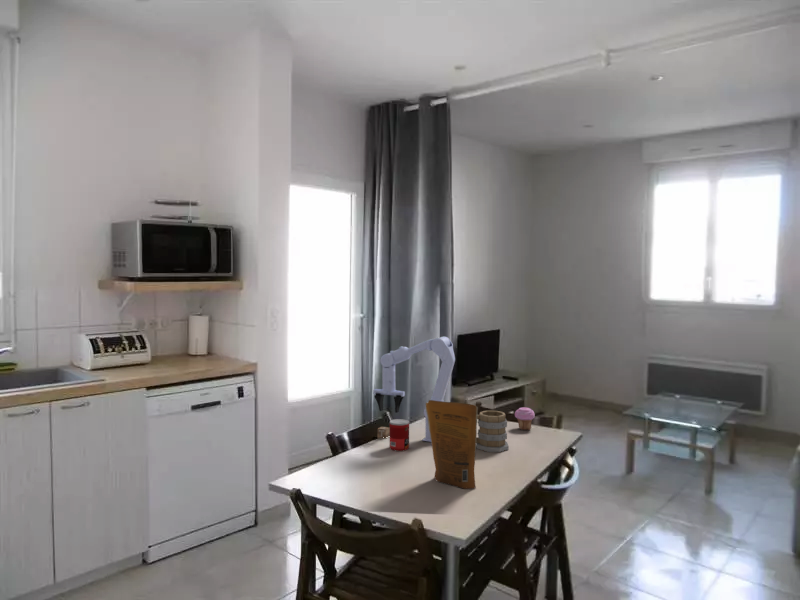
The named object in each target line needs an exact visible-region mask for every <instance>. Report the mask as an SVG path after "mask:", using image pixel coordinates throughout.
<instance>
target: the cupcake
mask: <svg viewBox="0 0 800 600" xmlns="http://www.w3.org/2000/svg"><path fill="white" fill-rule="evenodd" d="M535 414H536V413H535V412H534V410H533V409H532V408H530V407H524V406H523V407H519V408H518V409H516V410H515V412H514V418H516V419H517V423H518V427H519V430H524V431H525V430H526V431H529V430H532V421H533V420H534V419H535V417H536V416H535Z"/></svg>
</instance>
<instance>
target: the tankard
mask: <svg viewBox="0 0 800 600" xmlns="http://www.w3.org/2000/svg"><path fill="white" fill-rule="evenodd" d="M477 425H478V427H479V429H477V436H476V449H477V450H479V449H480V451H483V450H484V452H486V451H487V452H486V453H502V452H505V451H508V450H509V443H508V441H506V440H507V439H508V432H507V430H506V428H507V427H508V421H507V418H506V413H505V411H504V412H503V411H501V410H500V411H498V410H483V411H482V410H481V411H480V412H479V414H477ZM504 450H505V451H504ZM501 451H502V452H501Z"/></svg>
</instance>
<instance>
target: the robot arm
mask: <svg viewBox="0 0 800 600" xmlns="http://www.w3.org/2000/svg"><path fill="white" fill-rule="evenodd" d="M425 350H427V351H432V352H433V353H434V354H435V355H437V357H438V358H439V359H440V360H441V365H440V368H439V371H438V374H437V379H436V381H435V385H434V388H433V392H432V395H431V398H430V399H429V400H434V401H442V402H445V395H446V392H447V390H448V385H449V382H450V379H451V376H452V373H453V369H454V365H455V362H456V356H455V352H454V344H453V342H452V341H451V339H450V338H449V337H448V336H445V335H444V336H440V337H435V338H431V339H427V340H424V341H422V342H420V343H417V344H415V345H413V346H411V347H407V346H403V345H402V346H399V347H398V348H397V349H396V350H390V351H389V352H388V353H384V354H383V355H381V357H380V364H381V366H382V373H381V374H382V377H381V378H382V381H381V382H382V388H373V393H372V394H373V395H374V399H375V401H376V403H377V404H378V405H377V406H378V410H379V412H383V410H384V399H385V398H384V397H385V396H394V397H393V399H394V412H395V413H399V412H400V406H401V404H402V402H403V399H404V397H405V396H406V391H404V390H399V389H398V390H397V388H396V365H398V364H400V363H402V362H405V361H408V360H410V358H411V357H412V355H414V354H417V353H420V352H423V351H425ZM423 416H424V418H425V434H424V435H425V437H424V438H422V439H421V441H422V442H430V443H431V438H430V431H429V425H428V417H427V412H426V406H424V409H423Z"/></svg>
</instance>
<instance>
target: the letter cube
mask: <svg viewBox="0 0 800 600" xmlns="http://www.w3.org/2000/svg"><path fill="white" fill-rule="evenodd" d="M388 436H390V426H389V427H387V426H380V427H378V428H377V439H383V437H384V438H386V437H388ZM388 438H389V437H388ZM386 439H387V438H386Z"/></svg>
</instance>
